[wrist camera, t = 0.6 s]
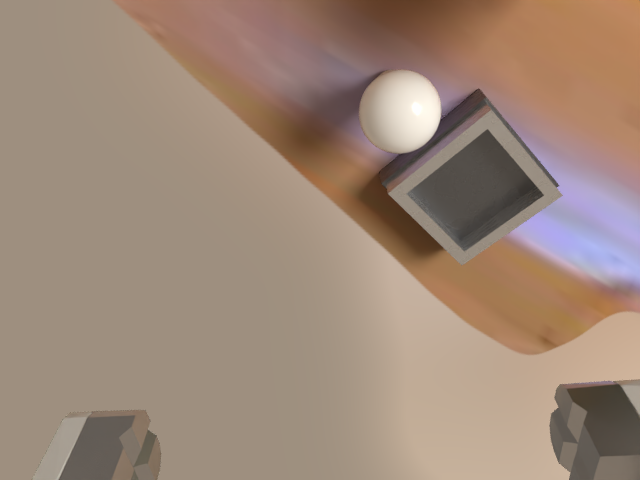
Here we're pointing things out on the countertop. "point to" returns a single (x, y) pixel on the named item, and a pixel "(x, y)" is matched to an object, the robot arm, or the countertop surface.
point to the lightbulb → (400, 111)
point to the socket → (470, 180)
